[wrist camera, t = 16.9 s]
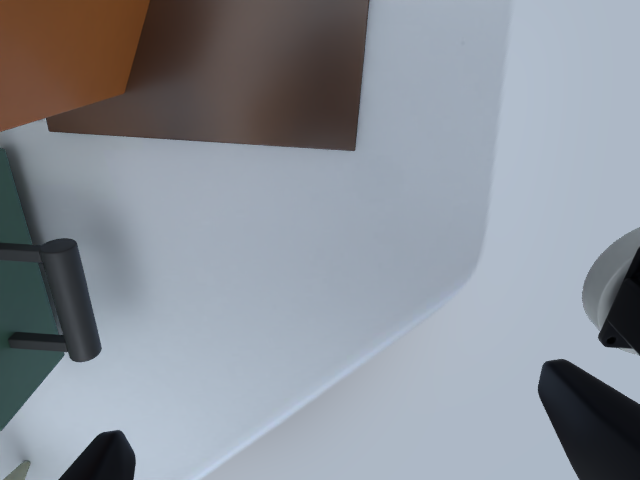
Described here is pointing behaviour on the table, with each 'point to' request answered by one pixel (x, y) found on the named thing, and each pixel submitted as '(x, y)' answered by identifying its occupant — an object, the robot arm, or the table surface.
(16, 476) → the ice cream cone
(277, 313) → the table surface
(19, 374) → the drawer
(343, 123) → the board
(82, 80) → the orange rectangular prism
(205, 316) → the table surface
